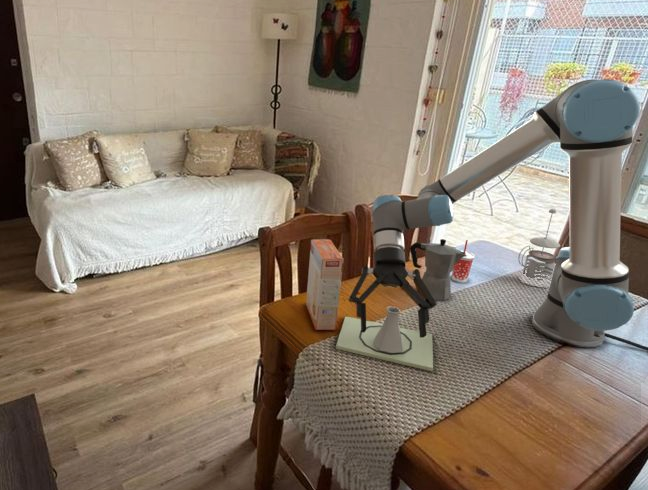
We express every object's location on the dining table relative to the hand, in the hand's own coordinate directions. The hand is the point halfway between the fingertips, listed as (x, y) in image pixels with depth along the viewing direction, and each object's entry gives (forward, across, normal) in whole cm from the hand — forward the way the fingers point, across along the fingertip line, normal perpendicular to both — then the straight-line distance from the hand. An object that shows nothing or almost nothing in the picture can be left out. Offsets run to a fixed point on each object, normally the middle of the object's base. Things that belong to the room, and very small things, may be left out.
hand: (393, 333), depth 104 cm
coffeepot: (-21, -18, -29) cm, 40 cm away
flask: (+2, 0, -5) cm, 6 cm away
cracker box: (-6, +16, -15) cm, 23 cm away
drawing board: (+1, 0, -8) cm, 8 cm away
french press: (-30, -54, -39) cm, 73 cm away
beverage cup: (-29, -31, -37) cm, 56 cm away
